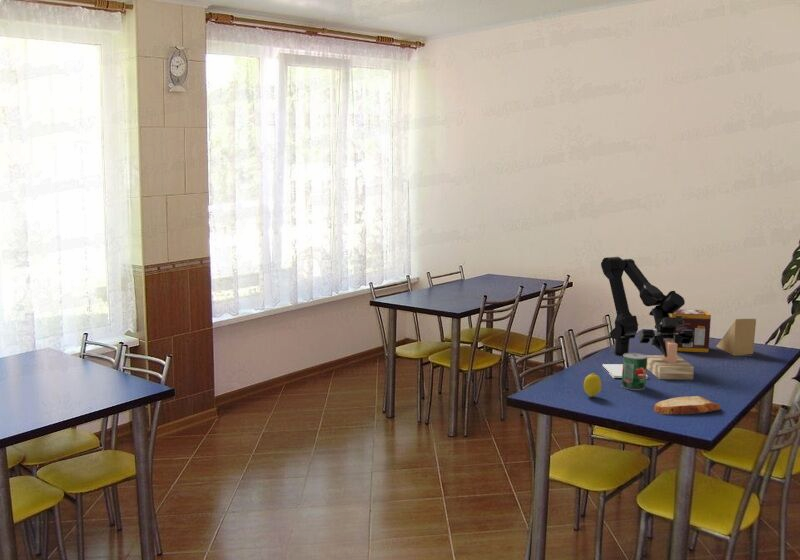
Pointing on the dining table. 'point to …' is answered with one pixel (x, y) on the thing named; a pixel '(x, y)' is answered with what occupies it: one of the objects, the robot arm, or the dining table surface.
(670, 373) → the slot box
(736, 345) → the sandwich container
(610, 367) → the mat
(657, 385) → the dining table surface
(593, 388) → the lemon
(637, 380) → the canned tomato
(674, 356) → the pink rectangular block
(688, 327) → the supplement box
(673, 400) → the slice of bread
